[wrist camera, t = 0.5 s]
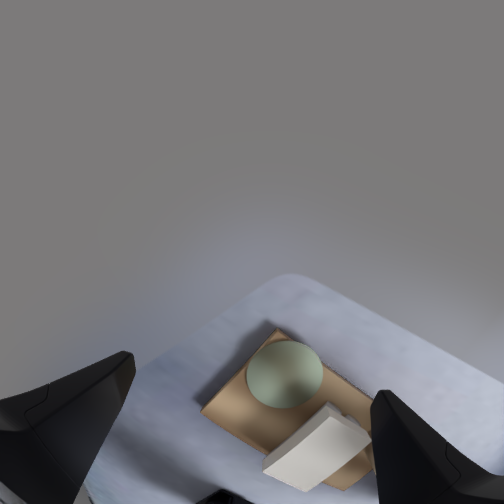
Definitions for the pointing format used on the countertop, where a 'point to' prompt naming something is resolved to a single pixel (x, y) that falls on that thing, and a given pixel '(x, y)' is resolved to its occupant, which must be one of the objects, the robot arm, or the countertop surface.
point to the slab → (316, 448)
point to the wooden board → (287, 400)
